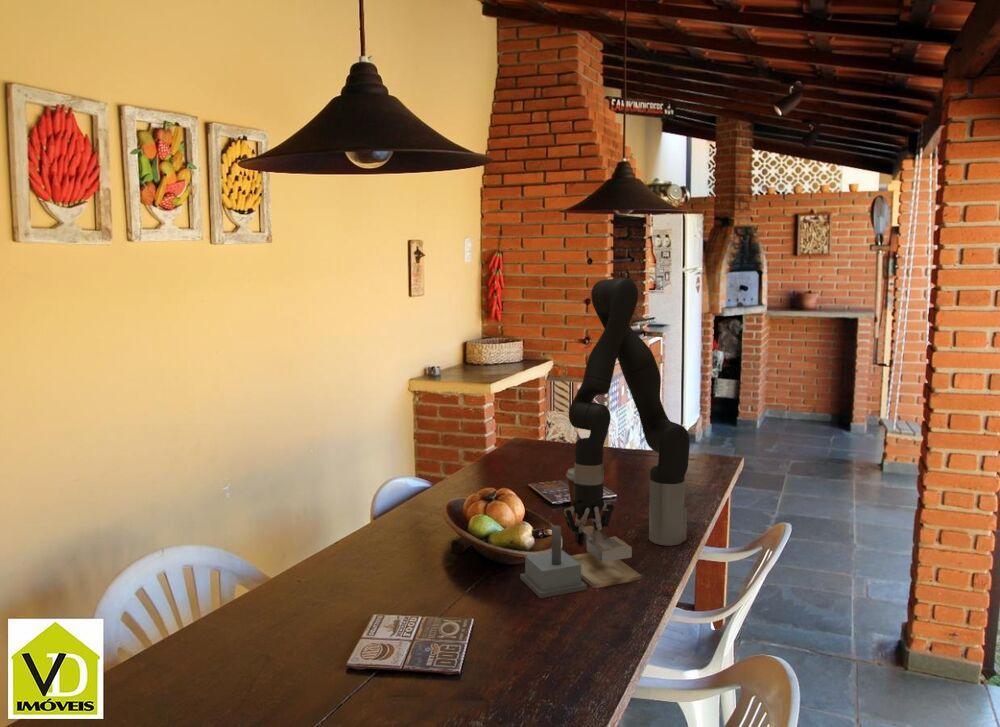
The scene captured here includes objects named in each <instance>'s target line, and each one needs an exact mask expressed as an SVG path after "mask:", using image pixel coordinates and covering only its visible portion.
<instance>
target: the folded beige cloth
mask: <svg viewBox="0 0 1000 727" xmlns="http://www.w3.org/2000/svg"><path fill="white" fill-rule="evenodd" d="M570 556H571V557H572V558H573V559H575V560H576V561H577V562H578V563H580V564H581V580H584V581H585V582H586V584H588V585H590V586H591V588H593V589H598V588H604V587H609V586H615V585H619V584H620V585H621V584H624V583H631V582H636V581H640V580H643V579H642V578H643V575H642V574H640V573H639V572H637V571H636V570H634V569H633V568H632V567H630V566H629V565H627V564H626V563H625V562H623V561H622V560H621V559H618V560H612V561H606V562H601V561H600V560H599V559H597V558H596V557H595V556H593V555H592V554H591V553H589V552H585V553H579V554H573V555H570Z"/></svg>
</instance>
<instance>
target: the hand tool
mask: <svg viewBox="0 0 1000 727" xmlns="http://www.w3.org/2000/svg"><path fill="white" fill-rule="evenodd" d="M461 537H462V536H460V537H458V538H457V539H452V540H451V544H450V547H451V548H450V549H451V551H452V553H454V554H458V555H459V554H460V555H462V554H464V552H466V550H467V549H469V548H470V547H471V546H470V545H469V544H468V543H467V542H466V541H465V540H464V539H463V538H461Z"/></svg>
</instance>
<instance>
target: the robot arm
mask: <svg viewBox="0 0 1000 727" xmlns="http://www.w3.org/2000/svg"><path fill="white" fill-rule="evenodd" d="M590 296H591V304H592V306H593V308H594V311H595V313H596V315H597V317H598V319H599V321H600V323H601V324H602V327H603V328H604V330H603V333H601V336H600V337H599V339H598V340H597V342H596V343H595V345H594V347H593V348H592V350H591V351H590V353H589V355H588V358H587V360H586V361H587V362H586V365H585V368H584V369H585V370H584V375H583V380H582V383H581V385H580V387H579V388H578V390H577V392H576V394H575V397H574V398H573V400H572V402H571V403H570V406H569V408H568V421H569V423H570V424H571V426H572V427H573V428H576V429H580V430H587V431H590V432H589V436H588V437H582V438H579V439H577V440H576V441H575V445H574V446H575V448H574V467H573V468H574V502H573V505H572V506H571V505H570V507H563V509H562V512H563V513H562V514H563V516H564V519H565V523H566V525H567V528H568V529H569V530H571V532H573V533H574V535H575V536H574V537H575V538H574V541H575V544H576V545H577V546H579V548H580V547H584V541H583V533H582V532H583V528H584V527H585V525H586V524H587V520H591V521H592V526H593V527H594V528H595V529H597V530H598V531H600V532H601V533H602V529H604V528H607V527H608V526H609V523H610V521H611V517H612V514H613V511H614V507H615V506H614V505H613V504H611V503H610V502H608V501H607V502H605V501H604V498H603V497H604V487H605V486H604V484H605V483H604V479H605V478H604V477H605V474H604V473H605V472H604V445H605V441H606V437H607V434H608V430H609V428H610V425H611V419H612V417H611V412H610V409H609V408H608V406H607V405H605V404H603V403H599V402H593V401H594V399H595V398H596V397H598V396H603V395H604V396H605V395H607V394H608V393H609V392H610V390H611V385H612V380H613V378H614V377H613V376H614V372H615V371H614V370H615V366H616V363H617V361H618V364H619V366H620V371H621V373H622V375H623V378H624V381H625V383H626V386H627V387H628V390H629V391H630V395H631V398H632V400H633V402H634V405H635V408H636V410H637V413H638V416H639V420H640V423H641V428H642V432H643V435H644V438H645V442H646V444H647V445H648V447H649V448H650V449H651V450H652V451H654V452H655V453H658V461H657V465H655V466H652V467H651V469H650V472H649V514H648V515H649V519H648V520H649V523H648V526H649V527H648V529H649V530H648V540H649V541H650V542H651V543H653V544H655V545H660V546H666V547H667V546H668V547H669V546H678V545H681V544H682V543H684V542H686V541H687V532H688V530H687V529H688V528H687V525H688V524H687V523H688V508H687V507H686V506H685V478H686V473H687V471H688V468H689V460H690V458H689V457H690V445H691V444H690V441H691V440H690V434H689V432H688V430H687V428H686V427H685V426H684V425H681V424H680V423H679V424H678V422H677V423H676V422H673V421H671V420H670V419H669V417H668V415H667V413H666V411H665V408H664V405H663V404H662V399H661V386H662V385H661V384H662V382H661V381H662V378H661V377H662V376H661V372H660V369H659V366H658V364H657V361H656V358H655V355H654V354H653V351H652V350H651V348H650V347H649V346H648V345H647V343H646V342H645V341H644V340H643V339H642V338H641V337H640V336H639V335H638V334H637V333H636V331H635V330H634V329H633V328H632V327H631V325H630V323H631V320H632V318H633V316H634V313H635V310H636V307H637V304H638V300H639V291H638V287H637V285H636V283H635V282H634V281H633V280H632V279H630V278H627V277H616V278H609V279H602V280H598V281H597V282H596V283H594V285H593V286H592V289H591V291H590ZM574 510H575V511H574ZM601 511H602V513H601ZM574 513H576V516H575V520H574V517H573V516H574ZM600 513H601V515H600Z"/></svg>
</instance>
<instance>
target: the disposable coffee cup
mask: <svg viewBox="0 0 1000 727" xmlns="http://www.w3.org/2000/svg"><path fill="white" fill-rule="evenodd" d="M565 477H566V479H567V483H568V484H567V485H568V491H569V500H570V507H571V506H572V505H573V502H574V467H572V468H569V469H567V472H566V474H565ZM574 512H575V510H574Z"/></svg>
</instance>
